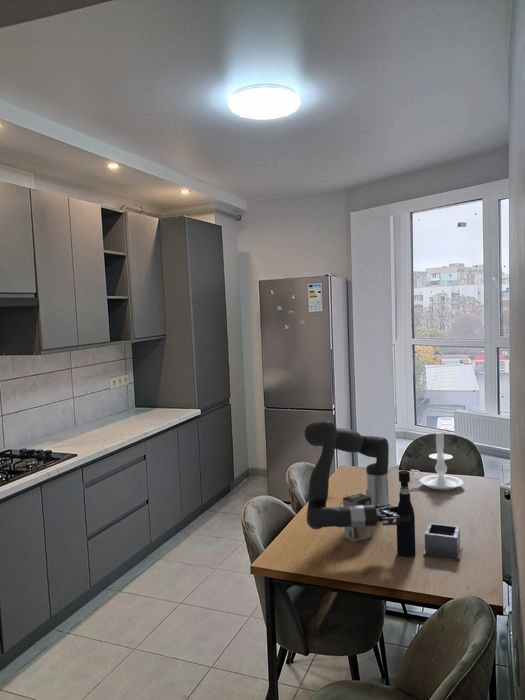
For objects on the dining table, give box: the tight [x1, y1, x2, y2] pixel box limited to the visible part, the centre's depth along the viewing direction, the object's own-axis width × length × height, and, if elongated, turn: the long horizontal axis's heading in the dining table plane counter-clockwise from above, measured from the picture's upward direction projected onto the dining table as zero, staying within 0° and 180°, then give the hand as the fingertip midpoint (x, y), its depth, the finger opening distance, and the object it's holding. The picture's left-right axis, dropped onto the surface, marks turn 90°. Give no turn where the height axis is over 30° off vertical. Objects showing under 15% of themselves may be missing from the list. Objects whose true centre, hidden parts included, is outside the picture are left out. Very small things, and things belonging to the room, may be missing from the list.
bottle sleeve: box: [422, 522, 463, 562], centre depth 194 cm, size 12×12×8 cm
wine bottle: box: [395, 470, 417, 559], centre depth 193 cm, size 6×6×30 cm
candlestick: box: [410, 432, 465, 491], centre depth 264 cm, size 21×25×28 cm
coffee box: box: [342, 493, 374, 543], centre depth 210 cm, size 9×6×16 cm
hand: (406, 513), depth 193 cm, fingers open, 8 cm apart
